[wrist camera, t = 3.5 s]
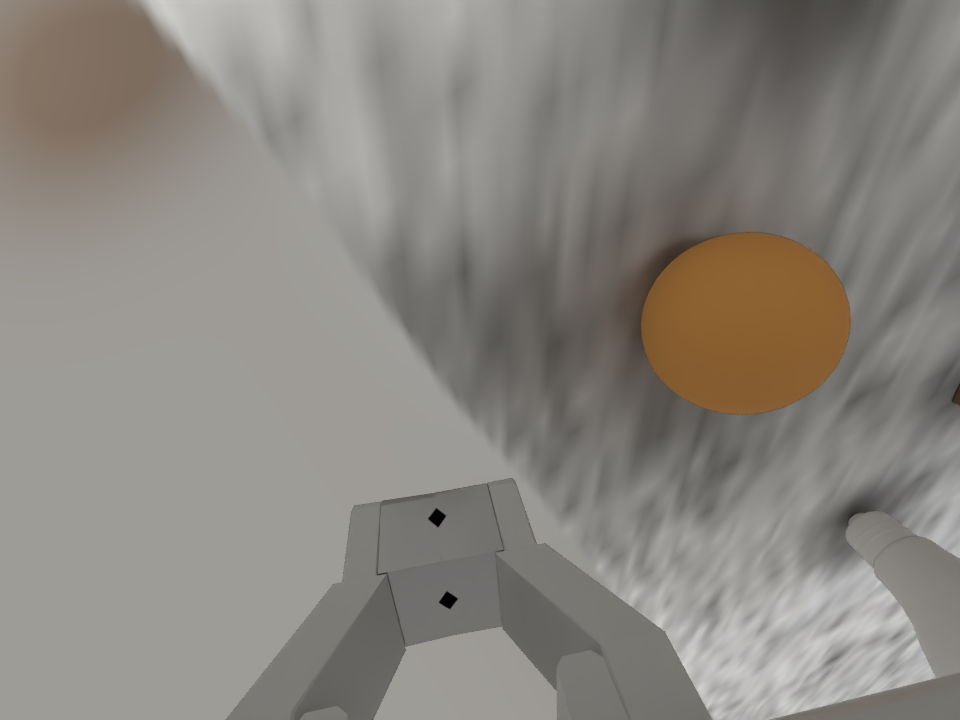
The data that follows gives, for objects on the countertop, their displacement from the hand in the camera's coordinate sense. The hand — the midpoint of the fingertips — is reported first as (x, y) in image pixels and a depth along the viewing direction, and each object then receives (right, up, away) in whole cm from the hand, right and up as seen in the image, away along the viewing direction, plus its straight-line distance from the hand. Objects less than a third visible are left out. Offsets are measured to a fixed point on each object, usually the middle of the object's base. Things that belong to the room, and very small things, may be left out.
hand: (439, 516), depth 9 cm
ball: (+9, +4, +7) cm, 12 cm away
